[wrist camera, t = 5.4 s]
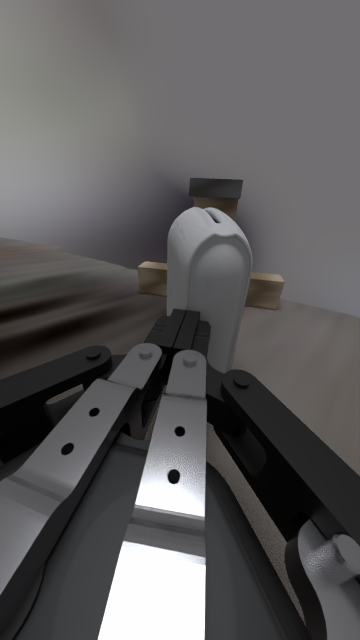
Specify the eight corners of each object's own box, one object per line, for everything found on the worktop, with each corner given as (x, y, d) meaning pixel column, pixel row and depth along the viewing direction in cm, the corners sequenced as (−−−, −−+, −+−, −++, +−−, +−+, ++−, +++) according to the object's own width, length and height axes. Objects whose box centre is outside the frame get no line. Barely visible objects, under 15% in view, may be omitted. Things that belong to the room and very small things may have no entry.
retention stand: (129, 303, 29) (117, 175, 21) (146, 285, 34) (141, 180, 27) (282, 323, 26) (331, 183, 18) (272, 300, 31) (305, 187, 24)
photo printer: (163, 328, 24) (164, 203, 17) (200, 326, 24) (214, 205, 18) (174, 406, 15) (183, 211, 9) (232, 401, 15) (280, 214, 9)
